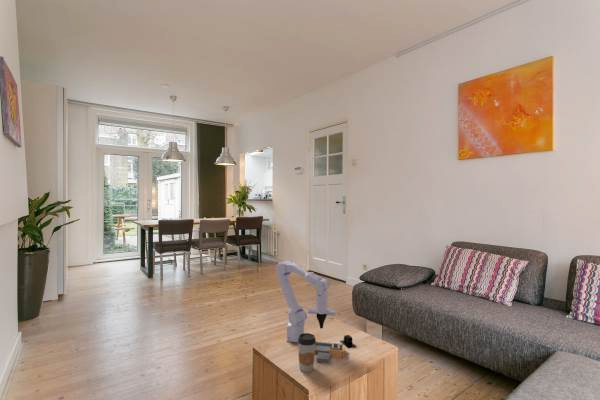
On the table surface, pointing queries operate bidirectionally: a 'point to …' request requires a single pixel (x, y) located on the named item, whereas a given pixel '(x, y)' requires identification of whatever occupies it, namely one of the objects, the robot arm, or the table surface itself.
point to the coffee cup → (306, 351)
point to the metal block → (335, 347)
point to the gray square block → (323, 357)
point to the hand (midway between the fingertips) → (321, 327)
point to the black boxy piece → (348, 341)
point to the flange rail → (329, 349)
